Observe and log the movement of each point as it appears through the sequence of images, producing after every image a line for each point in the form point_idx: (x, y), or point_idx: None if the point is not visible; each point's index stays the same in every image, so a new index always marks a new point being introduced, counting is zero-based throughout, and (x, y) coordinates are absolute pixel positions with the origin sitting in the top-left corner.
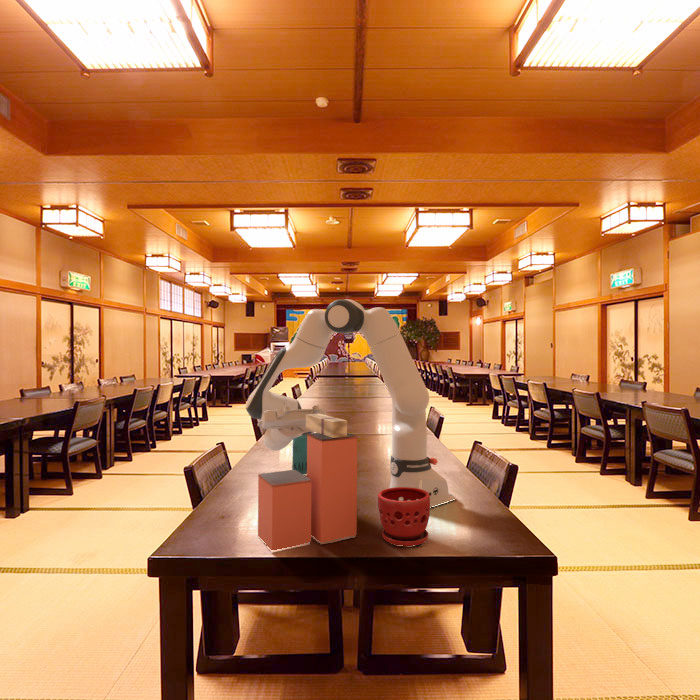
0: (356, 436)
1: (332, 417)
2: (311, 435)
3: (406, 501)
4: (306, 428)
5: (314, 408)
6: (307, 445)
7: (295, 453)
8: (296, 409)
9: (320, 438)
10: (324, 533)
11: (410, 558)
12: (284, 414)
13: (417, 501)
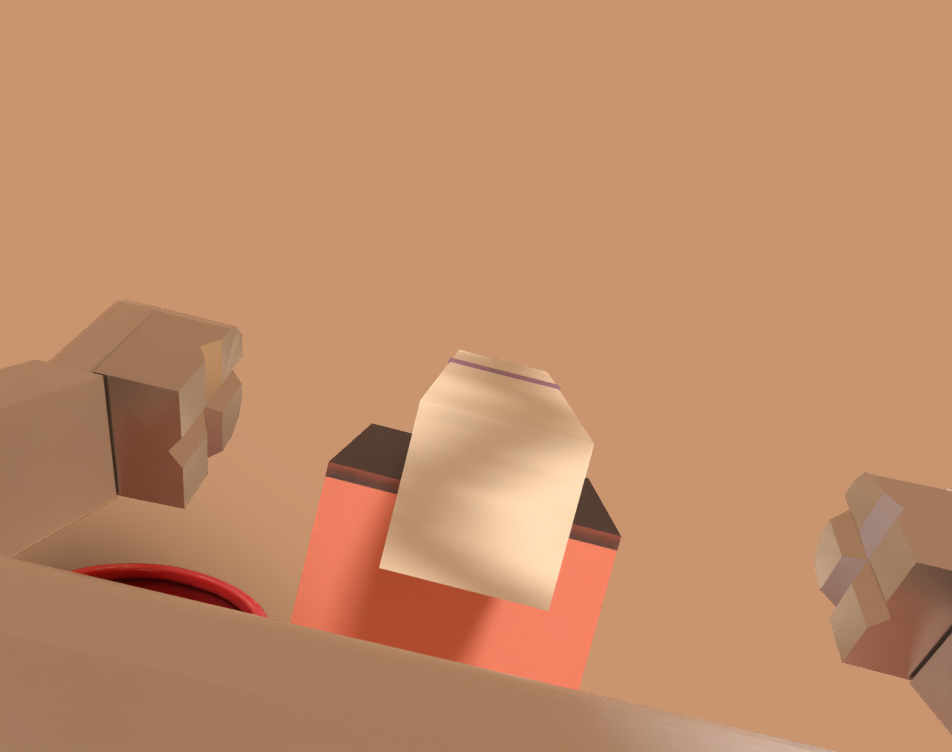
0: (377, 425)
1: (461, 366)
2: (608, 516)
3: (238, 589)
4: (549, 599)
5: (214, 390)
6: (596, 621)
7: None
8: (539, 682)
9: (585, 484)
10: None
11: None
12: (941, 710)
13: (205, 575)
